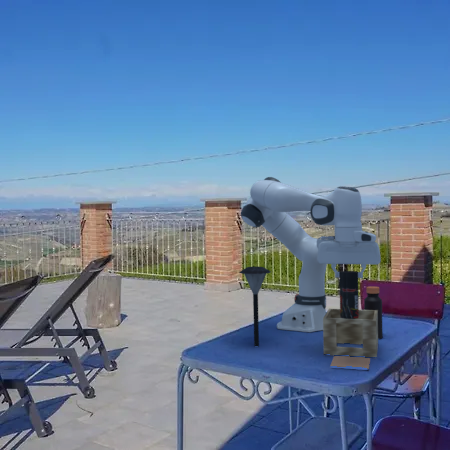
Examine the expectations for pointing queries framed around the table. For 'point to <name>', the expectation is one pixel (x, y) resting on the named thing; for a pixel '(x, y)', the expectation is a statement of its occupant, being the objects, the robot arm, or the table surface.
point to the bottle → (374, 305)
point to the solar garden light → (255, 292)
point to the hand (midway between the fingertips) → (348, 277)
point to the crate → (351, 333)
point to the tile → (350, 361)
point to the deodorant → (349, 295)
